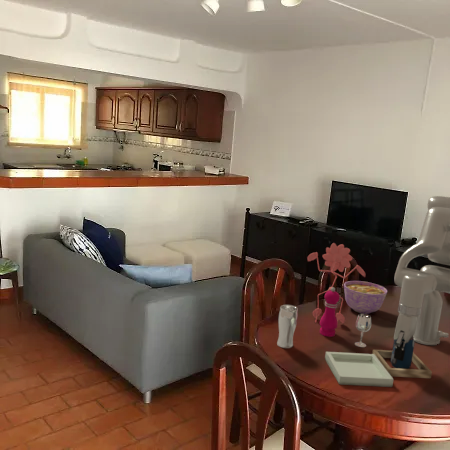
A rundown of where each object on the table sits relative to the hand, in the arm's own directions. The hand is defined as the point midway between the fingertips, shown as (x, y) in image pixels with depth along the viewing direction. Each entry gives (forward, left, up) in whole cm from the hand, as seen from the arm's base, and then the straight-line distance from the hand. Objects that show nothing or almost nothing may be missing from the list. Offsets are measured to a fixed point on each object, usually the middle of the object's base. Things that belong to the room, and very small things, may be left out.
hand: (401, 355), depth 174 cm
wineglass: (+9, -17, -4) cm, 20 cm away
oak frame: (0, 0, -4) cm, 4 cm away
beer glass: (+40, -13, -4) cm, 42 cm away
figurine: (+15, -41, -4) cm, 44 cm away
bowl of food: (-5, -56, -4) cm, 56 cm away
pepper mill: (+20, -26, -4) cm, 33 cm away
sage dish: (+18, +6, -4) cm, 19 cm away
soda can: (0, 0, -4) cm, 4 cm away
